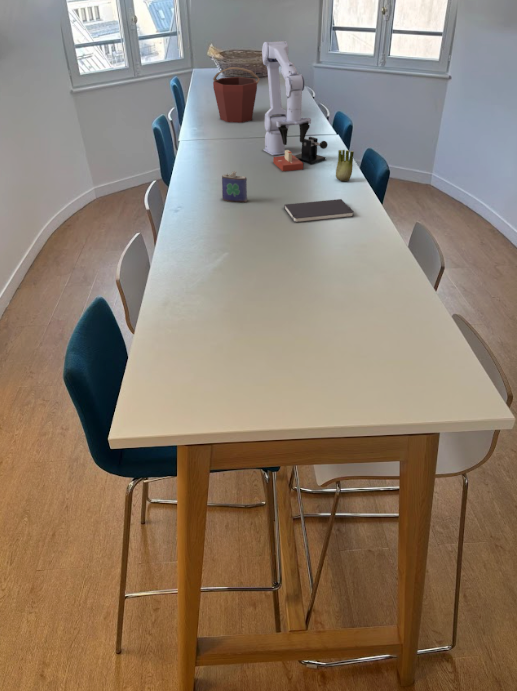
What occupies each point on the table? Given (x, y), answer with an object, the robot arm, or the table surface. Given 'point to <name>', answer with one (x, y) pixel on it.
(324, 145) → the lever
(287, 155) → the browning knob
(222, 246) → the table surface
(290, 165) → the dial panel
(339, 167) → the fennel bulb
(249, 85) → the bucket
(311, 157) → the black lever mount
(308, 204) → the notebook
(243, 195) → the flask
